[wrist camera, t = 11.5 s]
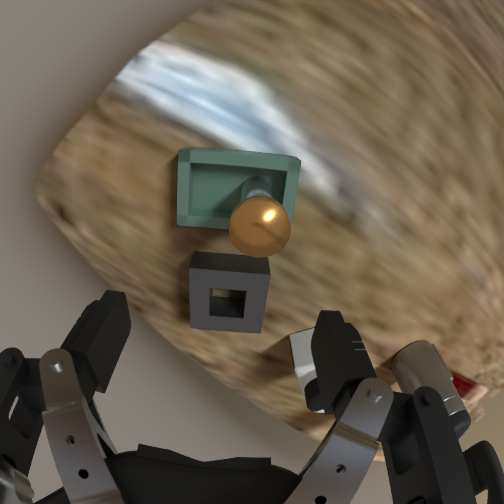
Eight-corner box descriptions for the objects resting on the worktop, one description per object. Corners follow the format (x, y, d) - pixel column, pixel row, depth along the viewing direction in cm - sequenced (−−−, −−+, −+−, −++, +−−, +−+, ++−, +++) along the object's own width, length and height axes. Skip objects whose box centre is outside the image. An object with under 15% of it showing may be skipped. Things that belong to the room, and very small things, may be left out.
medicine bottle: (288, 333, 40) (298, 399, 30) (333, 320, 39) (355, 384, 29) (297, 361, 43) (308, 422, 33) (338, 350, 43) (357, 408, 32)
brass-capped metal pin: (278, 172, 29) (295, 204, 19) (273, 210, 31) (285, 260, 21) (237, 167, 29) (231, 197, 19) (233, 206, 31) (226, 254, 21)
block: (268, 257, 34) (270, 274, 31) (259, 313, 38) (260, 333, 35) (194, 251, 34) (188, 267, 30) (194, 308, 38) (190, 327, 34)
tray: (296, 156, 29) (301, 161, 26) (285, 224, 32) (289, 234, 30) (185, 147, 28) (178, 150, 25) (182, 215, 32) (176, 225, 29)
